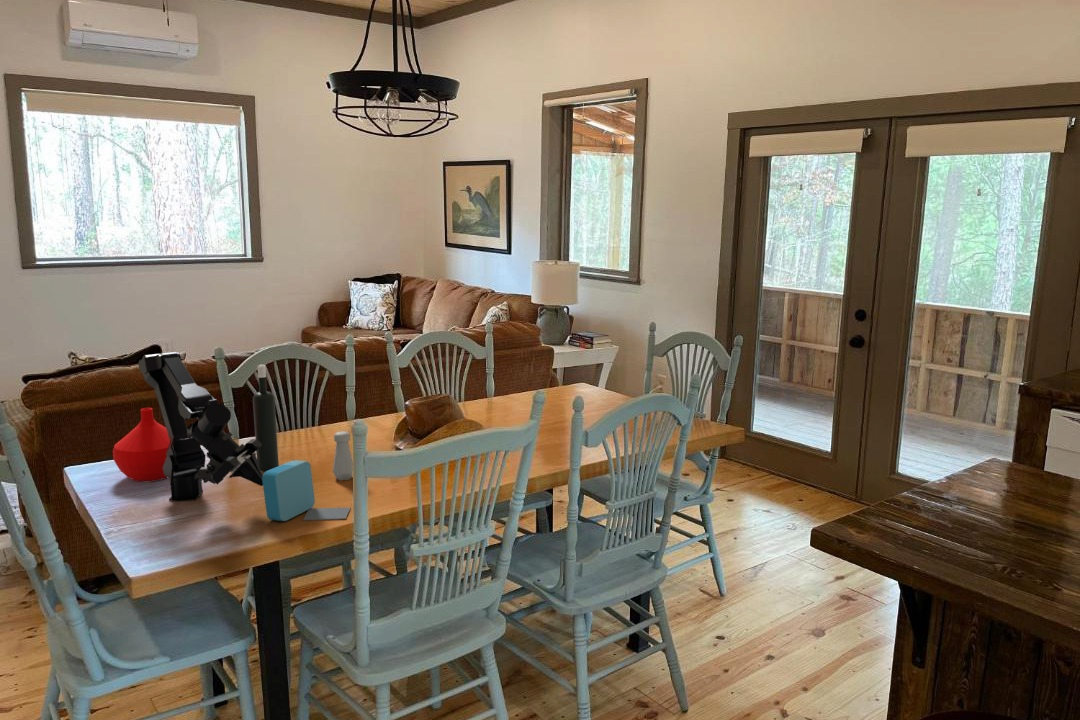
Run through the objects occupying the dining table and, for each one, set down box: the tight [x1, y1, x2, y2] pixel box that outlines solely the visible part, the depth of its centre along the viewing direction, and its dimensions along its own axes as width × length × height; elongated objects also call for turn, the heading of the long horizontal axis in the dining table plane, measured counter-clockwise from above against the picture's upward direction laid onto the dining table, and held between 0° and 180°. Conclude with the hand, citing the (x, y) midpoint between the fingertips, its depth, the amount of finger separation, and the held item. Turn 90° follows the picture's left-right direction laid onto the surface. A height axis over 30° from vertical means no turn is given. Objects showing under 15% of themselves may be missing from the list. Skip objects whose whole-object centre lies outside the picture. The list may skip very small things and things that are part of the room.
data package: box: [262, 459, 316, 522], centre depth 195 cm, size 12×4×12 cm, turn 155°
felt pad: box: [303, 507, 351, 521], centre depth 196 cm, size 10×7×1 cm
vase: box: [112, 407, 170, 482], centre depth 222 cm, size 18×18×19 cm
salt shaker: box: [332, 430, 354, 481], centre depth 221 cm, size 6×6×13 cm
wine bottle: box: [252, 364, 280, 472], centre depth 228 cm, size 6×6×30 cm
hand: (263, 484), depth 195 cm, fingers closed
